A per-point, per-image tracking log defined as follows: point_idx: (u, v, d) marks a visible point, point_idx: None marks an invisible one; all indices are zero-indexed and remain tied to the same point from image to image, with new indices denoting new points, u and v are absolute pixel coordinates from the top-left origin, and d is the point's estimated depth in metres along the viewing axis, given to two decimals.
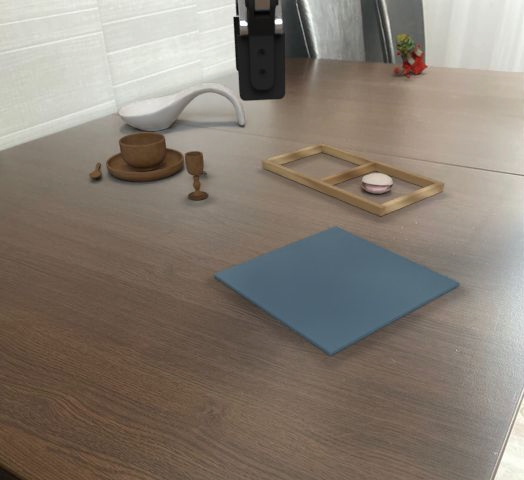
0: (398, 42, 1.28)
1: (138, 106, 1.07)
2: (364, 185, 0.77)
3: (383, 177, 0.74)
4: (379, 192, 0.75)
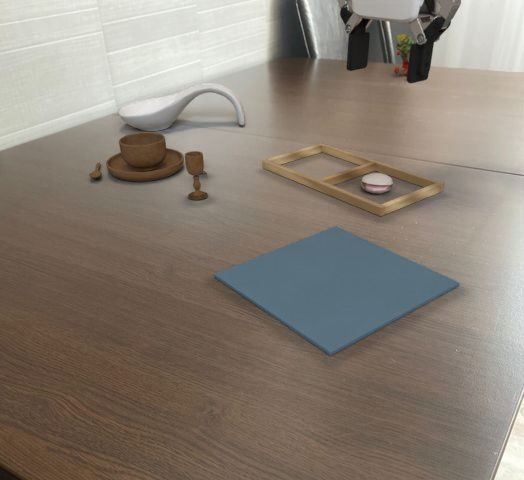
0: (398, 42, 1.28)
1: (138, 106, 1.07)
2: (364, 185, 0.77)
3: (383, 177, 0.74)
4: (379, 192, 0.75)
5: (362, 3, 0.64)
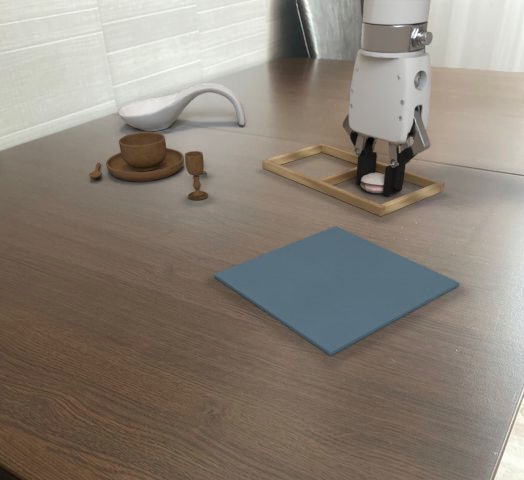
0: None
1: (138, 106, 1.07)
2: (363, 185, 0.77)
3: (382, 177, 0.74)
4: (378, 192, 0.75)
5: (357, 122, 0.72)
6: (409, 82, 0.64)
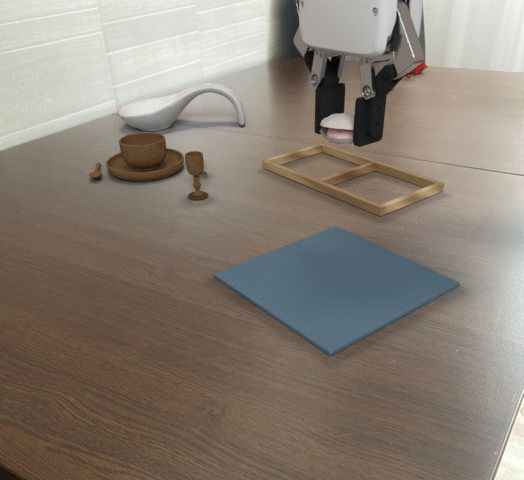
0: None
1: (138, 106, 1.07)
2: (325, 133, 0.51)
3: (351, 118, 0.49)
4: (346, 141, 0.49)
5: (311, 30, 0.47)
6: None
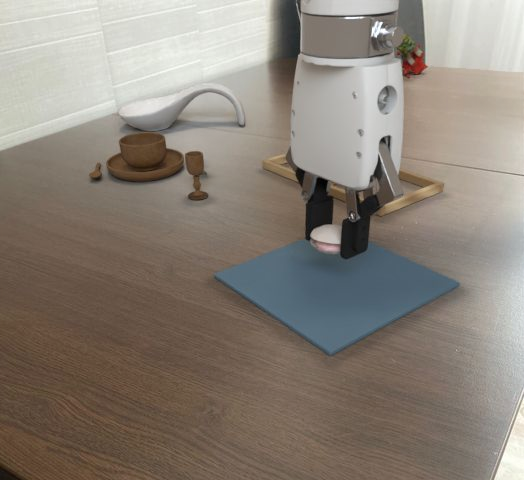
0: None
1: (138, 106, 1.07)
2: (315, 241, 0.56)
3: (338, 233, 0.53)
4: (334, 253, 0.54)
5: (302, 156, 0.51)
6: (370, 103, 0.43)
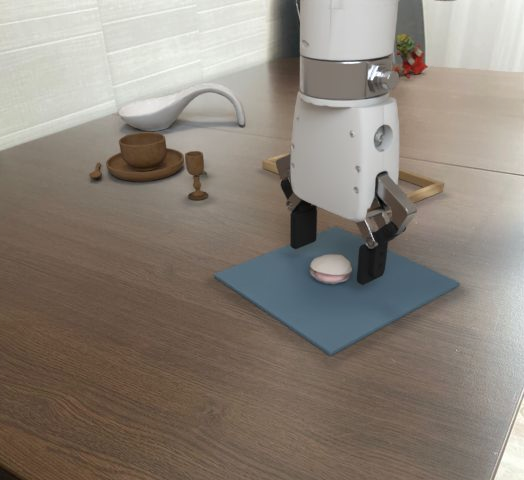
0: (398, 42, 1.28)
1: (138, 106, 1.07)
2: (314, 270, 0.58)
3: (337, 264, 0.55)
4: (333, 283, 0.56)
5: (301, 187, 0.53)
6: (366, 141, 0.45)
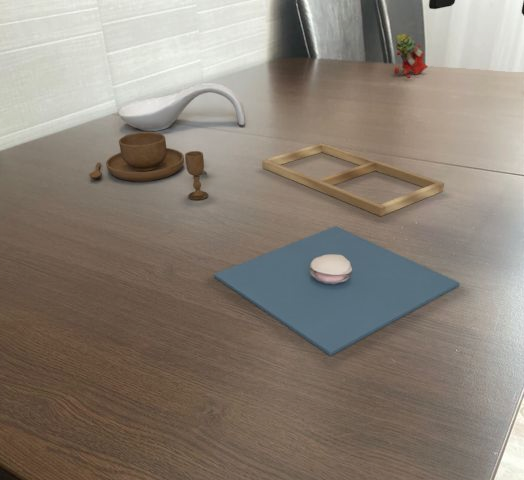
0: (398, 42, 1.28)
1: (138, 106, 1.07)
2: (314, 270, 0.58)
3: (337, 264, 0.55)
4: (333, 283, 0.56)
5: None
6: None
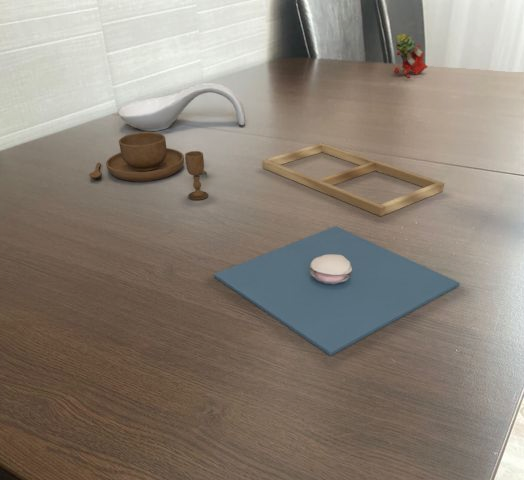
0: (398, 42, 1.28)
1: (138, 106, 1.07)
2: (314, 270, 0.58)
3: (337, 264, 0.55)
4: (333, 283, 0.56)
5: None
6: None
